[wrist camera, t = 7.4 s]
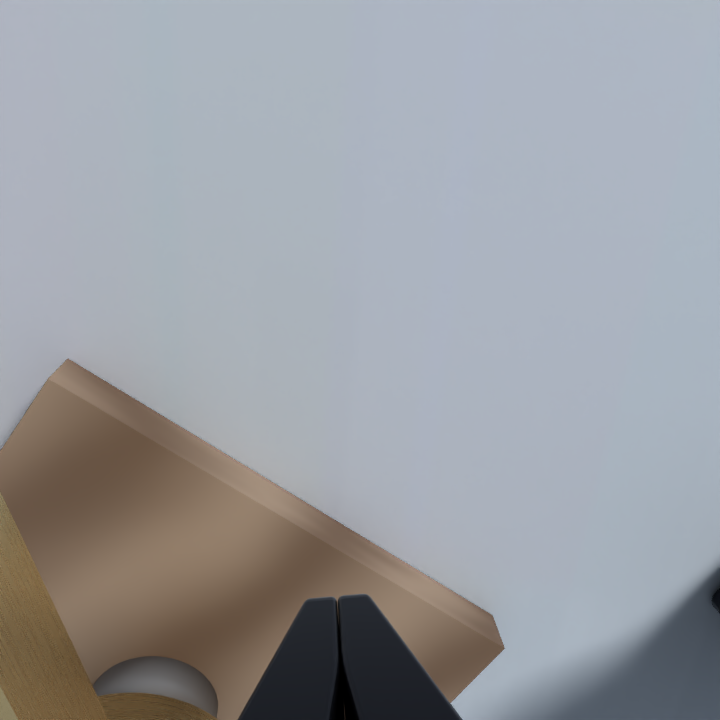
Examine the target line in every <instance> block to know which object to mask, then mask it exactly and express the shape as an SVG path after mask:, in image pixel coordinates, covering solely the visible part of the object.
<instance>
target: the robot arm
mask: <svg viewBox="0 0 720 720" xmlns="http://www.w3.org/2000/svg"><path fill="white" fill-rule="evenodd" d="M712 605H713V606H714V607H715V608H716V610H717V611H718V612H719V613H720V589H719V590H717V591H716V593H715V594H714V595H713V598H712ZM338 619H339V621H338ZM344 712H345V713H344ZM237 720H462V718H461V717H460V716H459V714H458V713H457V712H456V710H455V709H454V708H453V706H452V705H451V704H450V702H449V701H448V700H447V698H446V697H445V696H444V694H443V693H442V692H441V690H440V689H439V688H438V686H437V685H436V684H435V682H434V681H433V680H432V678H431V677H430V676H429V674H428V673H427V672H426V670H425V669H424V668H423V666H422V665H421V664H420V662H419V661H418V660H417V658H416V657H415V656H414V654H413V653H412V652H411V650H410V649H409V648H408V646H407V645H406V644H405V642H404V641H403V640H402V638H401V637H400V636H399V634H398V633H397V632H396V630H395V629H394V628H393V626H392V625H391V624H390V622H389V621H388V619H387V618H386V617H385V615H384V614H383V613H382V611H381V610H380V609H379V607H378V606H377V605H376V603H375V602H374V601H373V599H372V598H371V597H370V596H369V595H367V594H354V595H343V596H340V597H339V599H338V606H337V600H336V598H334V597H319V598H309V599H307V600H305V602H304V603H303V605H302V606H301V608H300V610H299V612H298V613H297V615H296V617H295V619H294V620H293V622H292V624H291V626H290V628H289V629H288V631H287V633H286V635H285V636H284V638H283V640H282V642H281V643H280V645H279V647H278V649H277V650H276V652H275V654H274V656H273V658H272V659H271V661H270V663H269V665H268V666H267V668H266V670H265V672H264V673H263V675H262V677H261V679H260V680H259V682H258V684H257V686H256V688H255V689H254V691H253V693H252V695H251V696H250V698H249V700H248V702H247V703H246V705H245V707H244V709H243V710H242V712H241V714H240V716H239V718H238V719H237Z"/></svg>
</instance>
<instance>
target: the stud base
mask: <svg viewBox="0 0 720 720" xmlns="http://www.w3.org/2000/svg"><path fill="white" fill-rule="evenodd" d="M0 491H1V494H2V496H3V498H4V500H5V502H6V504H7V506H8V508H9V510H10V513H11V515H12V517H13V519H14V521H15V523H16V525H17V527H18V529H19V532H20V534H21V536H22V538H23V540H24V542H25V544H26V546H27V548H28V551H29V553H30V555H31V557H32V559H33V561H34V563H35V565H36V567H37V570H38V572H39V574H40V576H41V578H42V580H43V582H44V584H45V586H46V589H47V591H48V593H49V595H50V597H51V599H52V601H53V603H54V605H55V608H56V610H57V612H58V614H59V616H60V618H61V620H62V622H63V624H64V627H65V629H66V631H67V633H68V635H69V637H70V639H71V641H72V643H73V646H74V648H75V650H76V652H77V654H78V656H79V658H80V660H81V662H82V665H83V667H84V669H85V671H86V673H87V675H88V677H89V679H90V681H91V684H92V686H93V688H94V690H95V692H96V694H97V696H101V695H107V694H114V693H148V694H156V695H162V696H166V697H171V698H175V699H178V700H181V701H184V702H187V703H190V704H192V705H194V706H196V707H198V708H200V709H203V710H204V711H206V712H207V713H209V714H211V715H212V716H214V717H215V718H217V719H218V720H237V719H238V718H239V716H240V714H241V712H242V710H243V709H244V707H245V705H246V703H247V702H248V700H249V698H250V696H251V695H252V693H253V691H254V689H255V688H256V686H257V684H258V682H259V680H260V679H261V677H262V675H263V673H264V672H265V670H266V668H267V666H268V665H269V663H270V661H271V659H272V658H273V656H274V654H275V652H276V650H277V649H278V647H279V645H280V643H281V642H282V640H283V638H284V636H285V635H286V633H287V631H288V629H289V628H290V626H291V624H292V622H293V620H294V619H295V617H296V615H297V613H298V612H299V610H300V608H301V606H302V605H303V603H304V602H305V600H307V599H309V598H319V597H334V598H336V600H337V606H338V599H339V597H340V596H343V595H354V594H367V595H369V596H370V597H371V598H372V599H373V601H374V602H375V603H376V605H377V606H378V607H379V609H380V610H381V611H382V613H383V614H384V615H385V617H386V618H387V619H388V621H389V622H390V624H391V625H392V626H393V628H394V629H395V630H396V632H397V633H398V634H399V636H400V637H401V638H402V640H403V641H404V642H405V644H406V645H407V646H408V648H409V649H410V650H411V652H412V653H413V654H414V656H415V657H416V658H417V660H418V661H419V662H420V664H421V665H422V666H423V668H424V669H425V670H426V672H427V673H428V674H429V676H430V677H431V678H432V680H433V681H434V682H435V684H436V685H437V686H438V688H439V689H440V690H441V692H442V693H443V694H444V696H445V697H446V698H447V700H448V701H449V702H450V703H451V702H452V701H453V700H454V699H455V698H456V697H457V696H458V695H459V694H460V693H461V692H462V691H463V690H464V689H465V688H466V687H467V686H468V685H469V684H470V683H471V682H472V681H473V680H474V679H475V678H476V677H477V676H478V675H479V674H480V673H481V672H482V671H483V670H484V669H485V668H486V667H487V666H488V665H489V664H490V663H491V662H492V661H493V660H494V659H495V658H496V657H497V656H498V655H499V654H500V653H501V652H502V651H503V650H504V649H505V648H504V645H503V642H502V640H501V637H500V634H499V632H498V629H497V626H496V624H495V621H494V618H493V616H492V615H491V614H489V613H488V612H486V611H484V610H483V609H481V608H479V607H478V606H476V605H474V604H473V603H471V602H469V601H468V600H466V599H465V598H463V597H461V596H460V595H458V594H456V593H455V592H453V591H451V590H450V589H448V588H446V587H445V586H443V585H441V584H440V583H438V582H436V581H435V580H433V579H431V578H430V577H428V576H426V575H425V574H423V573H422V572H420V571H418V570H417V569H415V568H413V567H412V566H410V565H408V564H407V563H405V562H403V561H402V560H400V559H398V558H397V557H395V556H393V555H392V554H390V553H388V552H387V551H385V550H383V549H382V548H380V547H379V546H377V545H375V544H374V543H372V542H370V541H369V540H367V539H365V538H364V537H362V536H360V535H359V534H357V533H355V532H354V531H352V530H350V529H349V528H347V527H345V526H344V525H342V524H340V523H339V522H337V521H336V520H334V519H332V518H331V517H329V516H327V515H326V514H324V513H322V512H321V511H319V510H317V509H316V508H314V507H312V506H311V505H309V504H307V503H306V502H304V501H302V500H301V499H299V498H297V497H296V496H294V495H293V494H291V493H289V492H288V491H286V490H284V489H283V488H281V487H279V486H278V485H276V484H274V483H273V482H271V481H269V480H268V479H266V478H264V477H263V476H261V475H259V474H258V473H256V472H254V471H253V470H251V469H250V468H248V467H246V466H245V465H243V464H241V463H240V462H238V461H236V460H235V459H233V458H231V457H230V456H228V455H226V454H225V453H223V452H221V451H220V450H218V449H216V448H215V447H213V446H211V445H210V444H208V443H207V442H205V441H203V440H202V439H200V438H198V437H197V436H195V435H193V434H192V433H190V432H188V431H187V430H185V429H183V428H182V427H180V426H178V425H177V424H175V423H173V422H172V421H170V420H168V419H167V418H165V417H164V416H162V415H160V414H159V413H157V412H155V411H154V410H152V409H150V408H149V407H147V406H145V405H144V404H142V403H140V402H139V401H137V400H135V399H134V398H132V397H130V396H129V395H127V394H125V393H124V392H122V391H120V390H119V389H117V388H116V387H114V386H112V385H111V384H109V383H107V382H106V381H104V380H102V379H101V378H99V377H97V376H96V375H94V374H92V373H91V372H89V371H87V370H86V369H84V368H82V367H81V366H79V365H77V364H76V363H74V362H73V361H71V360H69V359H67V360H66V361H65V362H64V363H63V364H62V365H61V366H60V367H59V368H58V369H57V370H56V371H55V372H54V373H53V374H52V375H51V376H50V377H49V378H48V380H47V381H46V383H45V384H44V386H43V387H42V389H41V390H40V392H39V393H38V395H37V396H36V398H35V399H34V401H33V402H32V404H31V405H30V407H29V408H28V410H27V411H26V413H25V414H24V416H23V417H22V419H21V420H20V422H19V424H18V425H17V427H16V428H15V430H14V431H13V433H12V434H11V436H10V437H9V439H8V440H7V442H6V443H5V445H4V446H3V448H2V449H1V451H0ZM338 621H339V619H338ZM344 713H345V712H344Z"/></svg>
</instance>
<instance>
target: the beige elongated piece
mask: <svg viewBox="0 0 720 720" xmlns="http://www.w3.org/2000/svg"><path fill="white" fill-rule="evenodd" d="M0 720H218V719H217V718H215V717H214V716H212V715H211V714H209V713H207V712H206V711H204V710H203V709H200V708H198V707H196V706H194V705H192V704H190V703H187V702H184V701H181V700H178V699H175V698H171V697H166V696H162V695H156V694H148V693H114V694H107V695H101V696H97V694H96V692H95V690H94V688H93V686H92V684H91V681H90V679H89V677H88V675H87V673H86V671H85V669H84V667H83V665H82V662H81V660H80V658H79V656H78V654H77V652H76V650H75V648H74V646H73V643H72V641H71V639H70V637H69V635H68V633H67V631H66V629H65V627H64V624H63V622H62V620H61V618H60V616H59V614H58V612H57V610H56V608H55V605H54V603H53V601H52V599H51V597H50V595H49V593H48V591H47V589H46V586H45V584H44V582H43V580H42V578H41V576H40V574H39V572H38V570H37V567H36V565H35V563H34V561H33V559H32V557H31V555H30V553H29V551H28V548H27V546H26V544H25V542H24V540H23V538H22V536H21V534H20V532H19V529H18V527H17V525H16V523H15V521H14V519H13V517H12V515H11V513H10V510H9V508H8V506H7V504H6V502H5V500H4V498H3V496H2V494H1V491H0Z"/></svg>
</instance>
